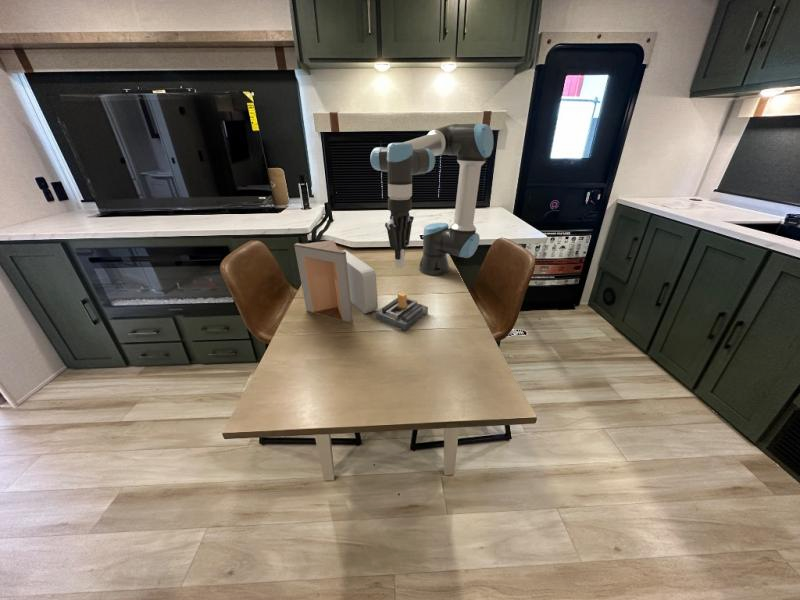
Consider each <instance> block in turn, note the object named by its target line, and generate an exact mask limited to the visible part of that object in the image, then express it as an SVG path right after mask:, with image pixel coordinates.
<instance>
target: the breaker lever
mask: <svg viewBox="0 0 800 600" xmlns="http://www.w3.org/2000/svg"><path fill="white" fill-rule="evenodd" d="M397 298H398V307H397V310H399V311H402V310H403V309H404V308H406V307H407V298H408V295H407V293H403V292H400V293H398V294H397Z"/></svg>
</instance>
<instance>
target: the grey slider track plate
mask: <svg viewBox="0 0 800 600" xmlns="http://www.w3.org/2000/svg"><path fill="white" fill-rule="evenodd" d="M395 299H396V300H395ZM395 299H394V301H393V300H392V301H393V302H392V301H390V302H391V303H390V302H389V303H390V304H389V303H388V305H387V304H386V305H384V306H385V307H384V306H383V307H381V308H382V312H386V311H387V310H389V309H390V308H392V307H393V306H394V305H396V304H397V303H398V297H396V298H395ZM422 305H423V304H421V303H418V304H417V305H416V306H415V307H413V308H412V309H411V310H409V311H408V312H407V313H405V314H404V315H402V320H405V321H409V320H410V319H411V318H413V317H414V316H415V315H417V314H418V313H419V312H420V311H422V310H423V307H422Z"/></svg>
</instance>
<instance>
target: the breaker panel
mask: <svg viewBox="0 0 800 600" xmlns="http://www.w3.org/2000/svg"><path fill="white" fill-rule="evenodd" d="M396 299H397V298H395V299H394V300H396ZM394 300H392V301H390V302H389V303H388V304H390V303H391V302H393V301H394ZM388 304H386V305H388ZM417 304H419V303H418V301H417V300H415V299H412V298H408V297H407V307H406V308H404V309H403V310H402V311H399V310H397V307H398V303H397V304H396V305H394V306H393V307H392V308H390V309H389V310H387V311H386V312H382V308H383V307H385V306H386V305H384V306H383V307H381V308H380V309H378V310H376V311H375V313H374V314H375V320H376V321H380V322H382V323H383V324H387V325H389V326H392V327H393V328H396V329H399V330H402V332H403V331H404V332H407V331H408V330H409V329H410V328H412V327H413V326H415V324H417V322H419V321H421V320H422V319H423V318H424V317H425V316H427V315H428V313H429V306H426V305H423V304H421V305H422V307H423V310H422V311H420V312H419V313H418V314H417V315H415V316H414V317H413V318H411V319H410V320H409V321H405V320H402V315H404V314H405V313H407V312H408V311H409V310H411V309H412V308H413V307H415V306H416V305H417Z"/></svg>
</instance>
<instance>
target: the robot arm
mask: <svg viewBox="0 0 800 600" xmlns="http://www.w3.org/2000/svg"><path fill="white" fill-rule="evenodd" d="M494 144H495V143H494V133H493V130H492V128H491V127H490V125H488V124H485V123H462V124H460V123H454V124H449V125H444V126H442V127H439V128H436V129H433V130H430V131H429V132H428V133H427V134H426V135H423V136H420V137H416V138H413V139H410V140H407V141H403V142H391V143H389V144H388V145H387V147H383V146H380V147H374V148H373V149H372V151H371V153H370V158H369V159H370V164H371V167H372V168H373V169H374V170H376V171H381V172H382V173H383V172H387V197H388V199H387V209H388V210H389V212H390V216H389V221H388V222H385V223H384V226H385V227H384V228H385V229H386V231H387V236H388V237H387V238H388V242H389V248H390V249H391V250H393V251H394V258H395V268H399V269H403V268H405V255H406V254H405V253H406V250H408V248H409V247H408V246H409V245H410V241H411V239H410V238H411V233H412V226H413V225H412V224H413V221H414V216H412V215H410V211H411V210H412V206H413V205H412V202H413V201H412V196H413V176H417V175H424V174H426V173H429V172H431V171H432V170H433V169H434V167H435V164H436V157H437V156H440V155H441V156H442V155H444V156H445V155H448V156H455V157H456V156H457V157H456V161H457V163H458V164H459V171H458V173H459V174H458V183H457V190H456V191H457V192H456V199H455V209H454V219H453V223H452V224H451V225H450V226H449V224H448V223H446V222H436V223H430V224H429V223H428V224H427V225H425V226H424V228H423V235H422V236H423V237H422V239H423V241H422V243H423V245H422V257H421V258H420V262H419V265H418V271H419V272H420V273H423V274H424V275H429V276H442V275H445V274H447V273H448V272H450V271H449V270H450V265H449V260H448V257H447V255H451V256H455V257H459V258H465V259H469V258H471V257H473V255H474V254H475V252H476V251H477V249H478V247H479V244H480V234H479V233H478V232H476V231H477V227H476V226H475V225H474V222H475V221H474V220H475V216H476V215H475V213H476V205H477V199H478V192H479V184H480V176H481V170H482V169H481V168H482V166H483V165H484V164H485V163H486V160H487V158H490V156H491V155H492V151H493V150H494Z"/></svg>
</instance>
